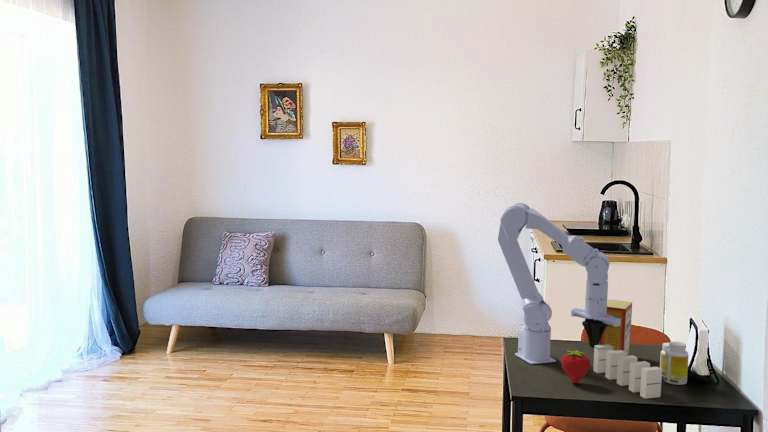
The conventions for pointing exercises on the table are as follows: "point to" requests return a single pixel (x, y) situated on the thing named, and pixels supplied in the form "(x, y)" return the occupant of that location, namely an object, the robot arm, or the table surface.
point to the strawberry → (575, 365)
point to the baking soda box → (620, 334)
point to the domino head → (600, 357)
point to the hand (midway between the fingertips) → (594, 346)
